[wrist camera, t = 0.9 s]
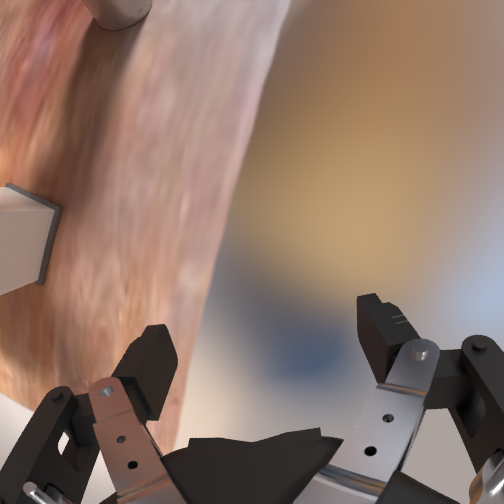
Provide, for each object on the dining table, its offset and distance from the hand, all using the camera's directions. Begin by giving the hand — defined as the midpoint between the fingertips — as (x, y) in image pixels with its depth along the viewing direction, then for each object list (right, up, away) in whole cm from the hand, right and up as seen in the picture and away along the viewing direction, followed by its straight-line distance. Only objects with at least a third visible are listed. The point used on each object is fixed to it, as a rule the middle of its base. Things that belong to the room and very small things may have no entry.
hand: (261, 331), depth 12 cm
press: (-35, +6, +25) cm, 43 cm away
